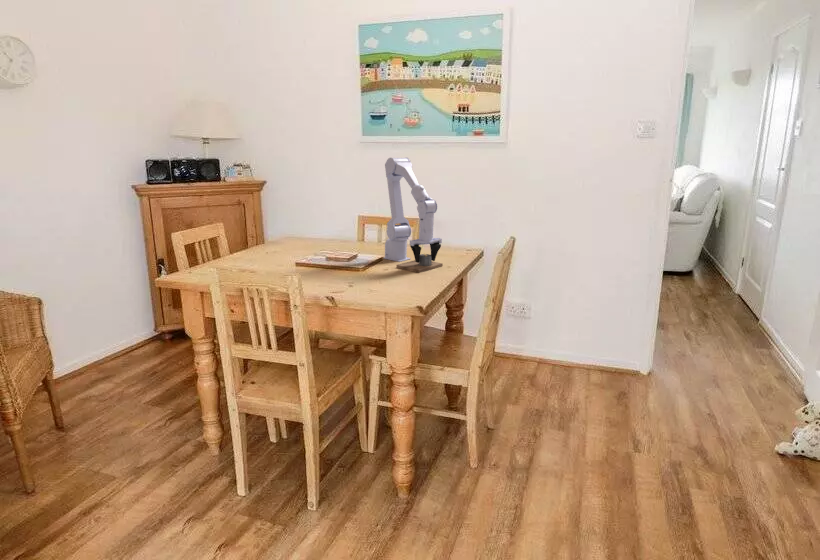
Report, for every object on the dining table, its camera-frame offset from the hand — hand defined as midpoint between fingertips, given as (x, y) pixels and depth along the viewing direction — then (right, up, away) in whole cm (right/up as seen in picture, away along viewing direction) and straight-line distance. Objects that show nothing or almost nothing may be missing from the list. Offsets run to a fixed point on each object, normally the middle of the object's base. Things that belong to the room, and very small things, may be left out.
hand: (425, 261), depth 235 cm
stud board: (-2, -2, +1) cm, 3 cm away
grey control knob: (0, -1, 0) cm, 1 cm away
